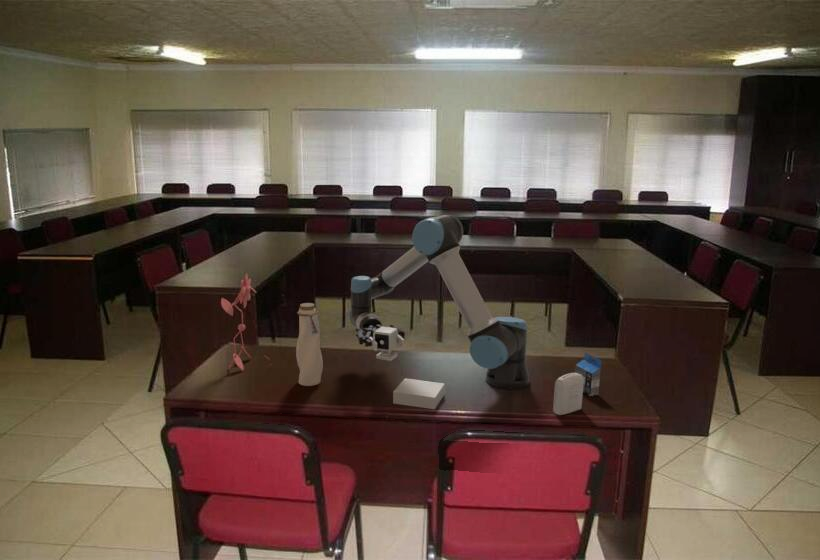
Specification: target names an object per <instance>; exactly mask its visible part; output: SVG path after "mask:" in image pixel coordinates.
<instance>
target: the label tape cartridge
mask: <svg viewBox="0 0 820 560" xmlns="http://www.w3.org/2000/svg"><path fill="white" fill-rule="evenodd" d="M583 357H584V358H583V359H582V360H581V361H579V362H578V363H576V364H575V369H574V373H578V374H581V375H582V376H583V379H584V384H583V393H584V394H585V395H587V396H588V395H589V397H590V396H592V397H595V396H594V395H596V396H598V395H599V392H600V390H599V389H600V379H601V368H602V361H603V360H601V359H598V358H597V357H595V356H593V355H591V354H589V353H587V352H584V356H583ZM592 360H593V361H592Z"/></svg>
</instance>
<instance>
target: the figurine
mask: <svg viewBox="0 0 820 560" xmlns="http://www.w3.org/2000/svg"><path fill="white" fill-rule="evenodd" d="M248 275H249V274H248V273H247V272H246V273H245V276H244V278H243V279H242V280H241V281H240V291H239V292H238V295H237V296H236V298H235V300H234V301H233V302H230V301H228V300H227V299H225V298H224V297H222V298H220V300H221V301H220V305H221V307H222V309H223V310H224V311H225V313H226V314H228V315H230V316H232V317H233V316H234V307H235V308H236V309H237V310H238V311H240V313H241V323H240V324H238V325H237V330H239V331H238V333H236V335H235V336H234V337H233V346H234V353H233V354H232V361H231V363H230V365H229V367H228V370H230V369H231V368H232V365H233V363H235V365H236V366H237V367H238V368H239V369H240V370H241V371H242V372H244V364H243V362H242V359H241V357H240V356H241V354H242V352H243V351H244V353H246V355H247V357H248V358H249V359H250V360H251V359H252V357H251V356H250V355H249V354H248V352H247V351H246V350H245V347H244V341H243V335H242V332H244V331H245V329H246V325H245V324H244V312H243V310H242V309H240V308H239V307H238V306H237V304H238V303H240V304H241V305H243V306H242V307H243V308H244V309H246V307H247V304H248V301H251V290H252V291H253V292H254V293H255V294H258V293H257V292H258V291H256V290H255V289H254V288H253V287H252V285H251V283H252V280H251V278H249V277H248ZM248 278H249V279H248ZM233 306H234V307H233ZM239 334H240V338H241V344H242V345H240V347H241V349H240V351H239V354H237V350H236V339H235V338H237V336H238V335H239ZM263 356H264V357H265V358H266V356H265V355H263ZM267 359H268V360H269V361H270V360H271V358H269V357H267ZM271 365H272V363H269V365H268V366H267V367H265V368H264V369H262V370H263V371H264V370H266V369H267V368H269V367H270V366H271ZM221 375H224V376H225V375H226V373H225V374H224V373H221Z"/></svg>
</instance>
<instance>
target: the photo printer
mask: <svg viewBox="0 0 820 560" xmlns="http://www.w3.org/2000/svg"><path fill="white" fill-rule="evenodd" d="M583 384H584V379H583V376H582V375H581V374H578V373H575V372H569V373H566V374H563V375H562V376H559V377H558V378H557V379H556V380H555V382H554V390H553V391H554V392H553V393H554V394H553V406H552V407H553V408H552V411H553V413H554V414H555V415H557V416H561V415H562V416H563V415H566V414H571V413H573V412H576V411H579V410H582V406H583V404H582V403H583V397H584V396H583Z"/></svg>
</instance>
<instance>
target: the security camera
mask: <svg viewBox="0 0 820 560" xmlns="http://www.w3.org/2000/svg"><path fill="white" fill-rule="evenodd" d="M383 326H384V325H382V327H380V328H379V329H377V330H376V331H374V332H373V339H374V340H375V341H376V342H377V351H380V352H378V353H377V354H376V355H375V356H376V359H377V360H383V361H389V362H390V361H393V360H394V359H395V358H397V357H398V352H397V351H392V350H394V349H395V348H396V347H397V346H398V345H399V344H398V329H399V328H396V327H395V328H391V327H389V326H385V327H383Z"/></svg>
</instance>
